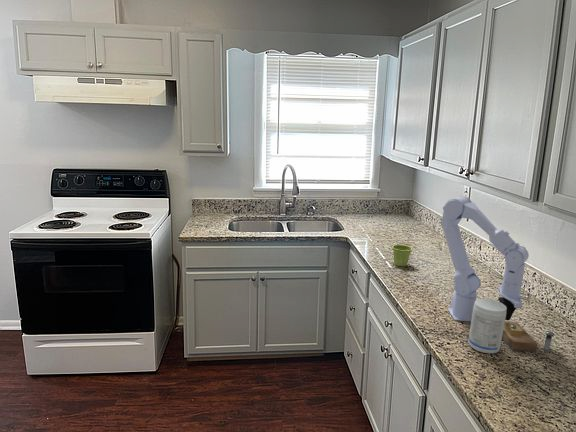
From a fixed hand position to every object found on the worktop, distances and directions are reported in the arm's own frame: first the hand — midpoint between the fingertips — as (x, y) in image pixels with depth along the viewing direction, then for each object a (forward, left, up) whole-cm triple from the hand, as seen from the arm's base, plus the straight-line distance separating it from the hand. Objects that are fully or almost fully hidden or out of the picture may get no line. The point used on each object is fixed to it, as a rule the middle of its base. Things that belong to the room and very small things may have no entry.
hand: (505, 319), depth 155 cm
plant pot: (-64, -24, -5) cm, 69 cm away
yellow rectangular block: (+6, 0, -1) cm, 7 cm away
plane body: (+6, +1, -4) cm, 7 cm away
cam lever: (+14, +7, -4) cm, 17 cm away
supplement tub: (+13, -11, -5) cm, 18 cm away
